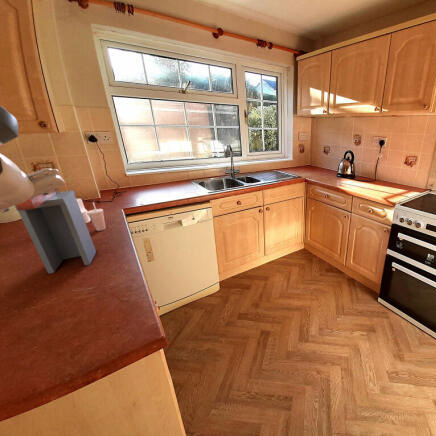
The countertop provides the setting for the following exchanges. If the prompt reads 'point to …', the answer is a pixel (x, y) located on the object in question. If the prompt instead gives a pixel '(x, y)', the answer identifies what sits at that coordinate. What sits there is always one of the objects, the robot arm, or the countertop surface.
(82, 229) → the shelf
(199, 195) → the countertop surface
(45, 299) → the countertop surface
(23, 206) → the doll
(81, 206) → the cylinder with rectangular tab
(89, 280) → the countertop surface
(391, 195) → the countertop surface
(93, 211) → the smoothie
